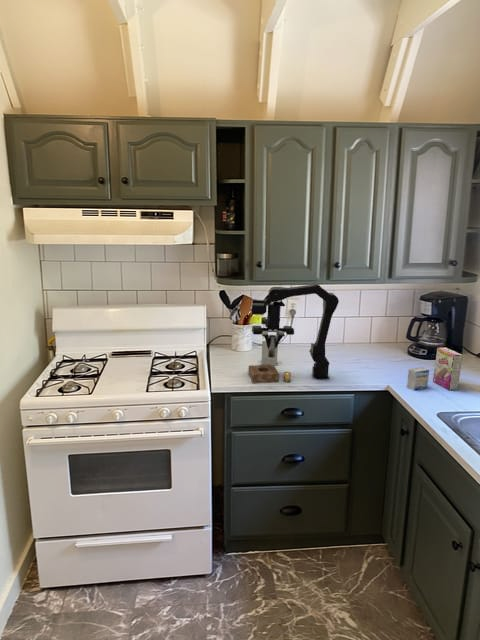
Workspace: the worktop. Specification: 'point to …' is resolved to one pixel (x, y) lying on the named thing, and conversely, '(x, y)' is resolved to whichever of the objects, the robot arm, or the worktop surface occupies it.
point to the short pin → (287, 377)
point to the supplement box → (265, 358)
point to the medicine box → (418, 378)
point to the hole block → (263, 373)
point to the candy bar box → (447, 368)
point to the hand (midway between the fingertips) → (271, 348)
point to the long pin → (272, 346)
